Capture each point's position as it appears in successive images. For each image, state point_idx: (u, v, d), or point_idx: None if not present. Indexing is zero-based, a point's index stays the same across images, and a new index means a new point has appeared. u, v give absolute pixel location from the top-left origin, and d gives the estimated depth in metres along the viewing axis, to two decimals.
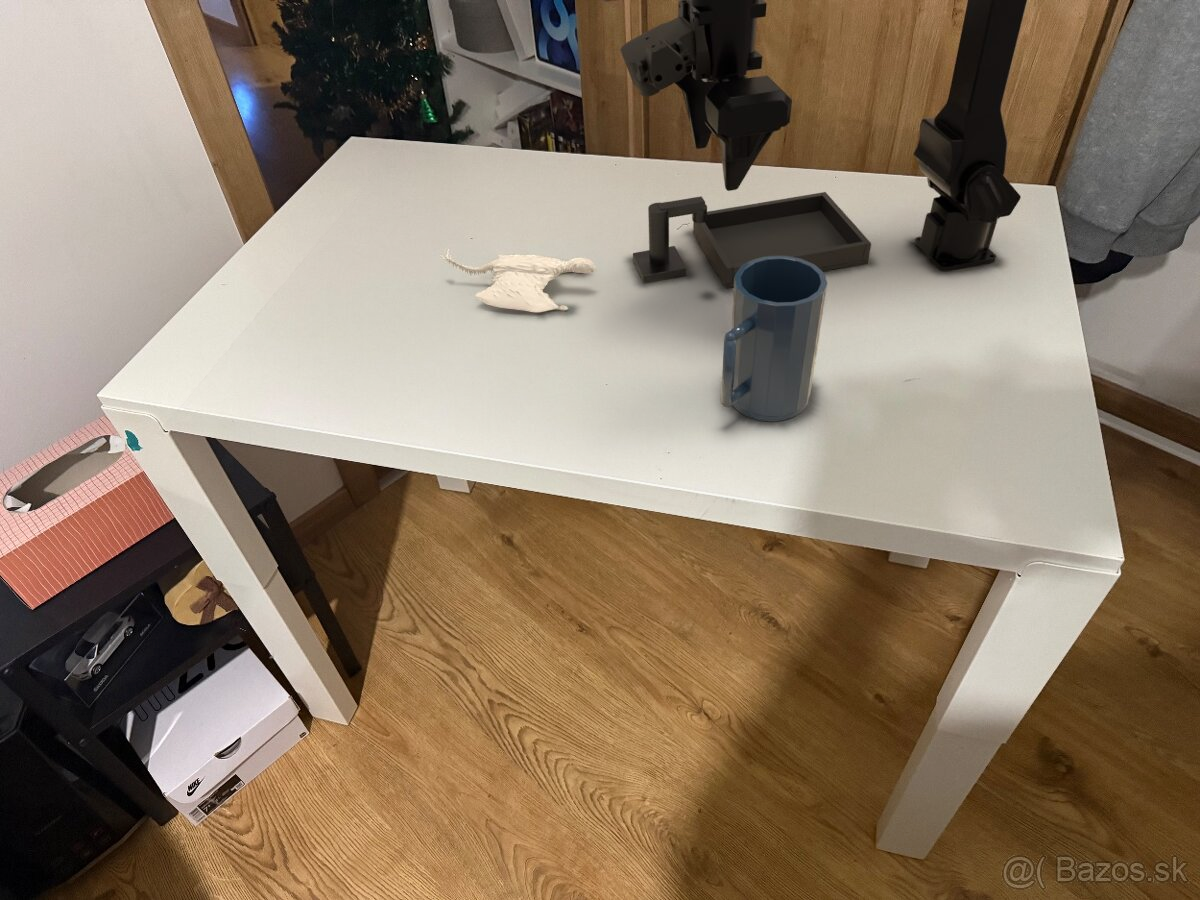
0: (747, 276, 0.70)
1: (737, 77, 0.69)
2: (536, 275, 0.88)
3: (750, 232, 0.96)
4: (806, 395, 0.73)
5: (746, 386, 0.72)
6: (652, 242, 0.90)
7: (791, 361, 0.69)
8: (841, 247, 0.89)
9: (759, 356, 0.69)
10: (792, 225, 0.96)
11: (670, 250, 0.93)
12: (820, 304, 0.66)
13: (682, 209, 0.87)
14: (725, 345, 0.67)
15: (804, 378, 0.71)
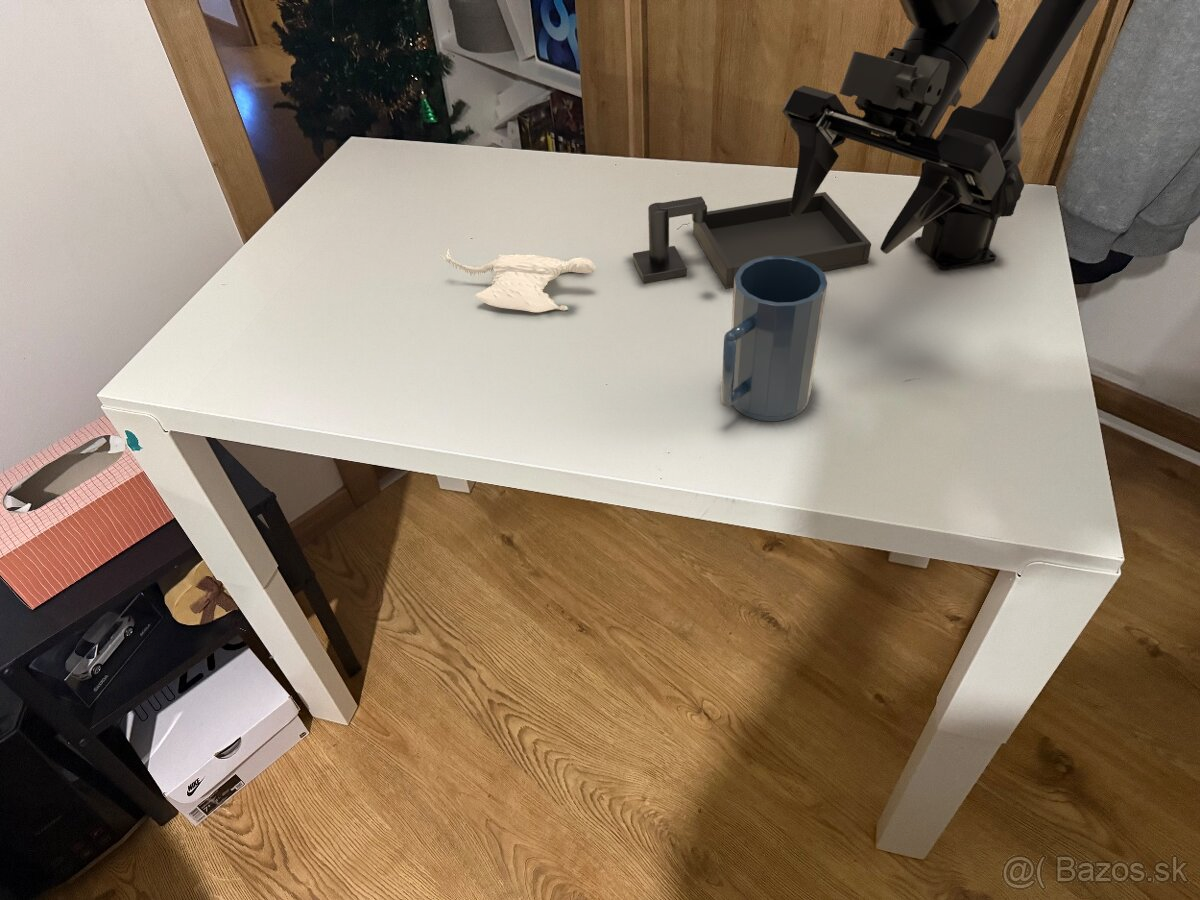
0: (747, 276, 0.70)
1: None
2: (536, 275, 0.88)
3: (750, 232, 0.96)
4: (806, 395, 0.73)
5: (746, 386, 0.72)
6: (652, 242, 0.90)
7: (791, 361, 0.69)
8: (841, 247, 0.89)
9: (759, 356, 0.69)
10: (792, 225, 0.96)
11: (670, 250, 0.93)
12: (820, 304, 0.66)
13: (682, 209, 0.87)
14: (725, 345, 0.67)
15: (804, 378, 0.71)
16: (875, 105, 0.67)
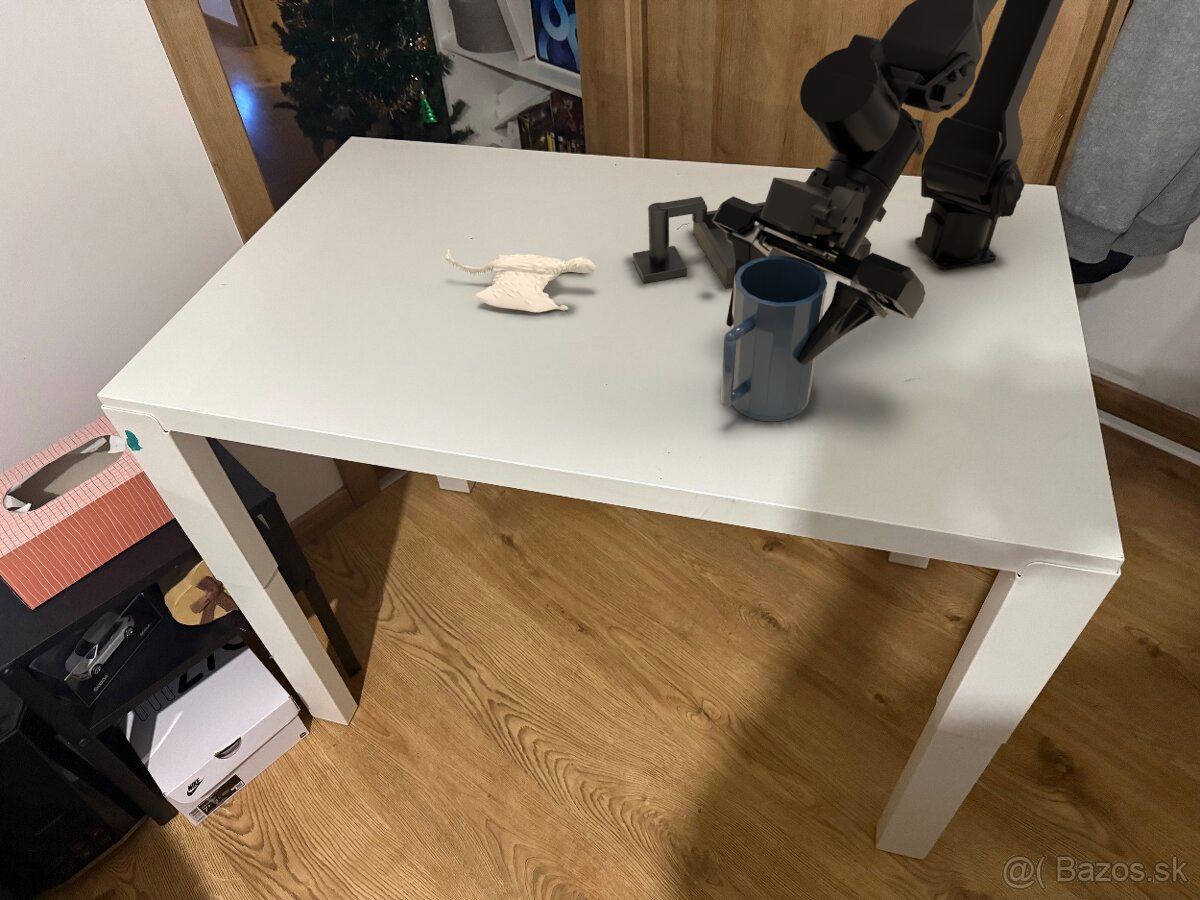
0: (747, 276, 0.70)
1: None
2: (536, 275, 0.88)
3: None
4: (806, 395, 0.73)
5: (746, 386, 0.72)
6: (652, 242, 0.90)
7: (791, 361, 0.69)
8: None
9: (759, 356, 0.69)
10: None
11: (670, 250, 0.93)
12: (820, 304, 0.66)
13: (682, 209, 0.87)
14: (725, 345, 0.67)
15: (804, 378, 0.71)
16: None
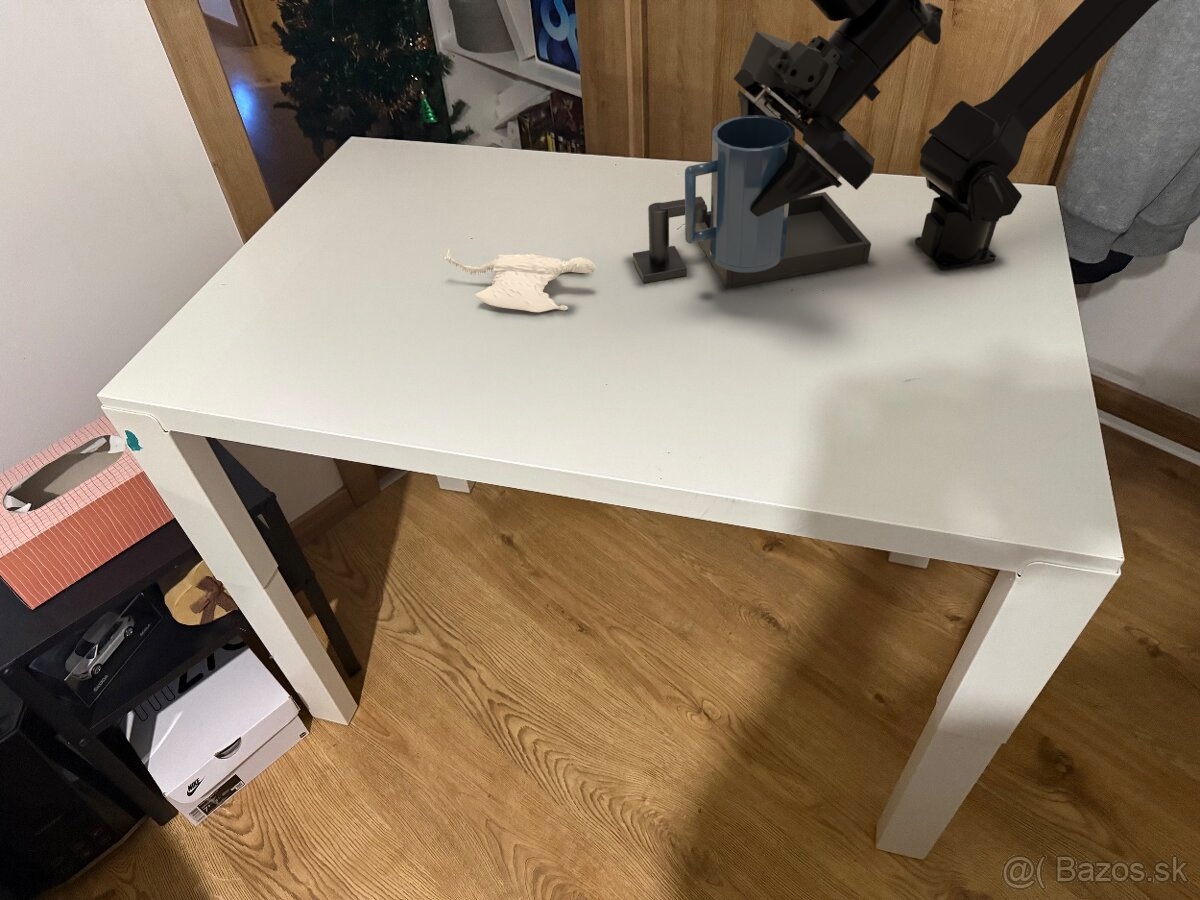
0: (737, 129, 0.77)
1: None
2: (536, 275, 0.88)
3: None
4: (768, 254, 0.80)
5: (713, 230, 0.80)
6: (652, 242, 0.90)
7: (746, 210, 0.76)
8: (841, 247, 0.89)
9: (720, 200, 0.77)
10: (792, 225, 0.96)
11: (670, 250, 0.93)
12: (776, 158, 0.73)
13: (682, 209, 0.87)
14: (685, 178, 0.76)
15: (762, 234, 0.78)
16: None
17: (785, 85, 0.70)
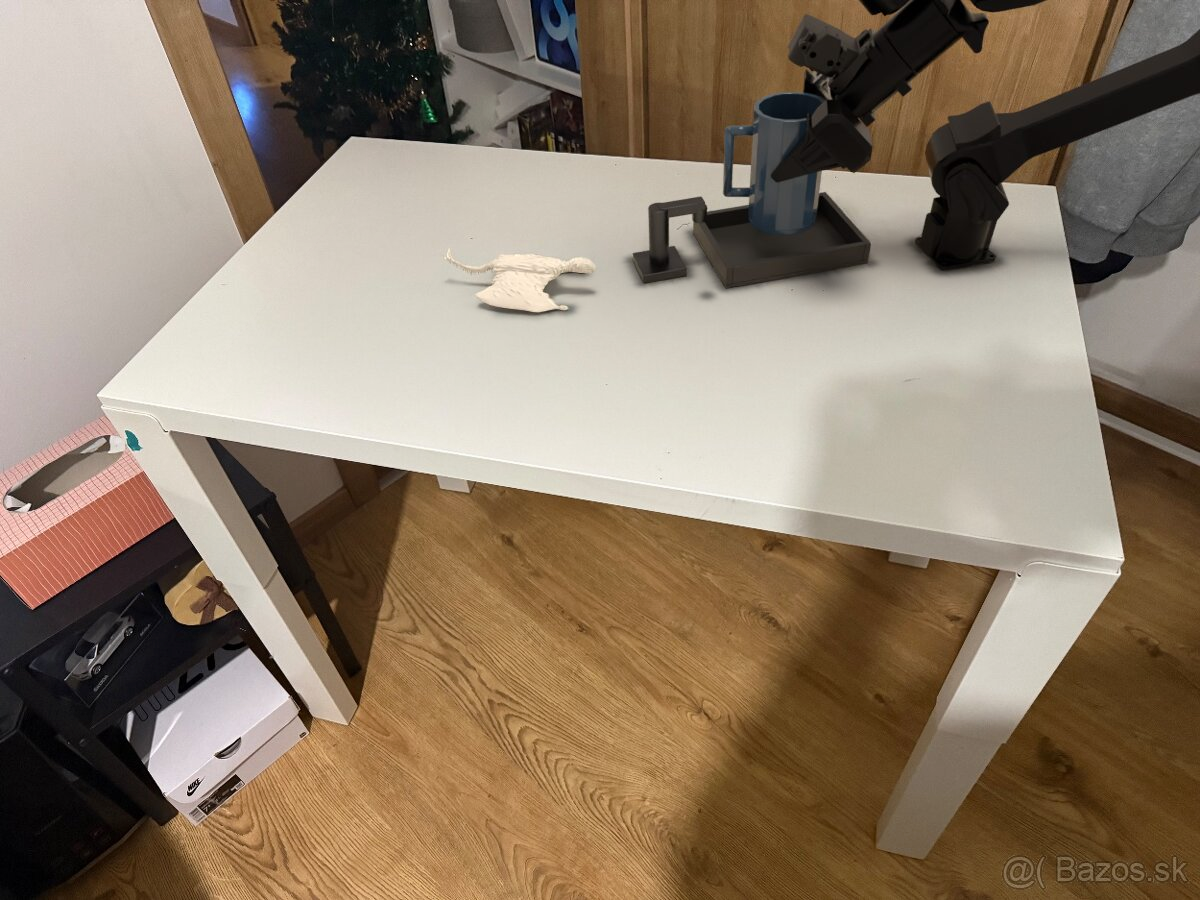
0: (788, 102, 0.86)
1: None
2: (536, 275, 0.88)
3: (750, 232, 0.96)
4: (788, 221, 0.88)
5: (748, 190, 0.90)
6: (652, 242, 0.90)
7: (768, 174, 0.85)
8: (841, 247, 0.89)
9: (752, 162, 0.86)
10: None
11: (670, 250, 0.93)
12: (797, 132, 0.81)
13: (682, 209, 0.87)
14: None
15: (782, 200, 0.86)
16: None
17: None
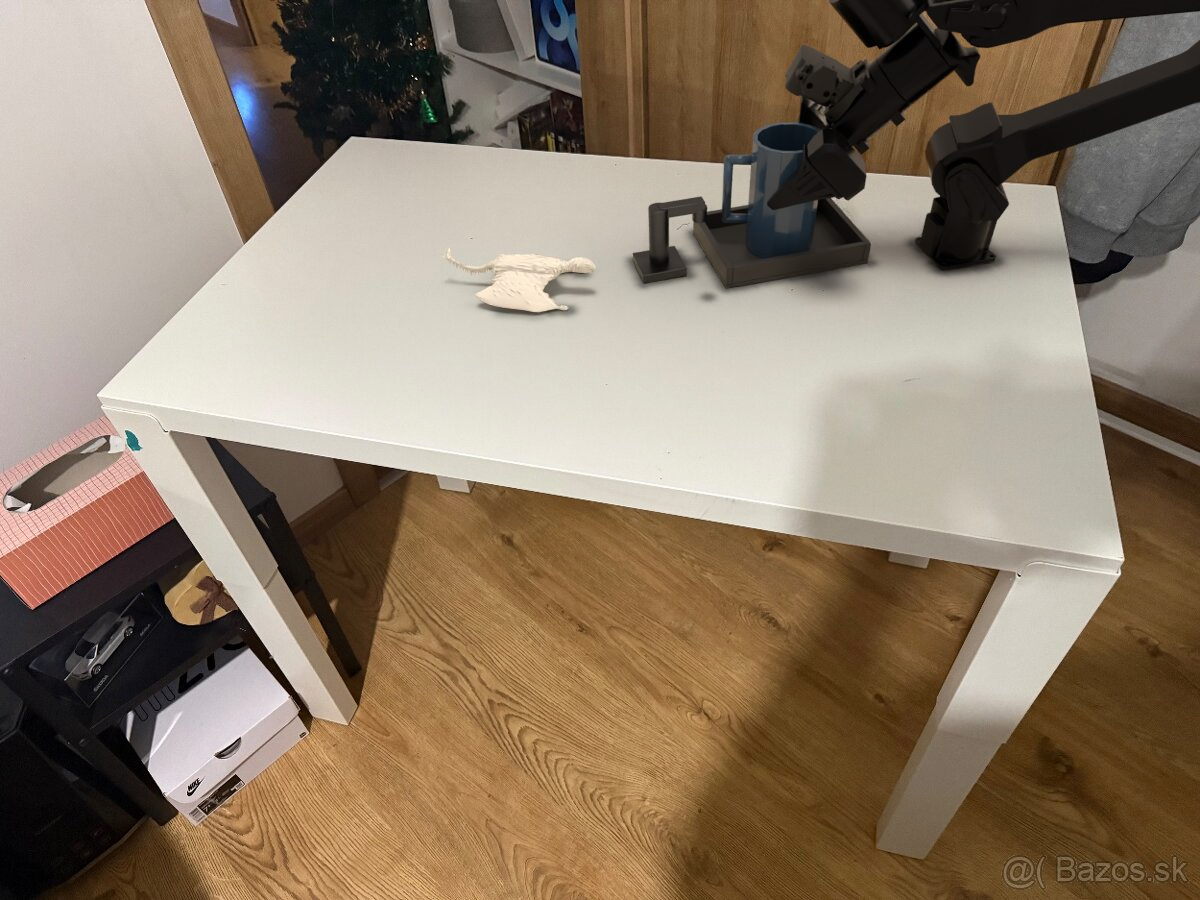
0: (786, 132, 0.88)
1: None
2: (536, 275, 0.88)
3: None
4: (784, 247, 0.90)
5: (746, 216, 0.92)
6: (652, 242, 0.90)
7: (766, 202, 0.87)
8: (841, 247, 0.89)
9: (751, 190, 0.89)
10: None
11: (670, 250, 0.93)
12: (794, 163, 0.83)
13: (682, 209, 0.87)
14: (724, 164, 0.88)
15: (780, 227, 0.88)
16: None
17: None
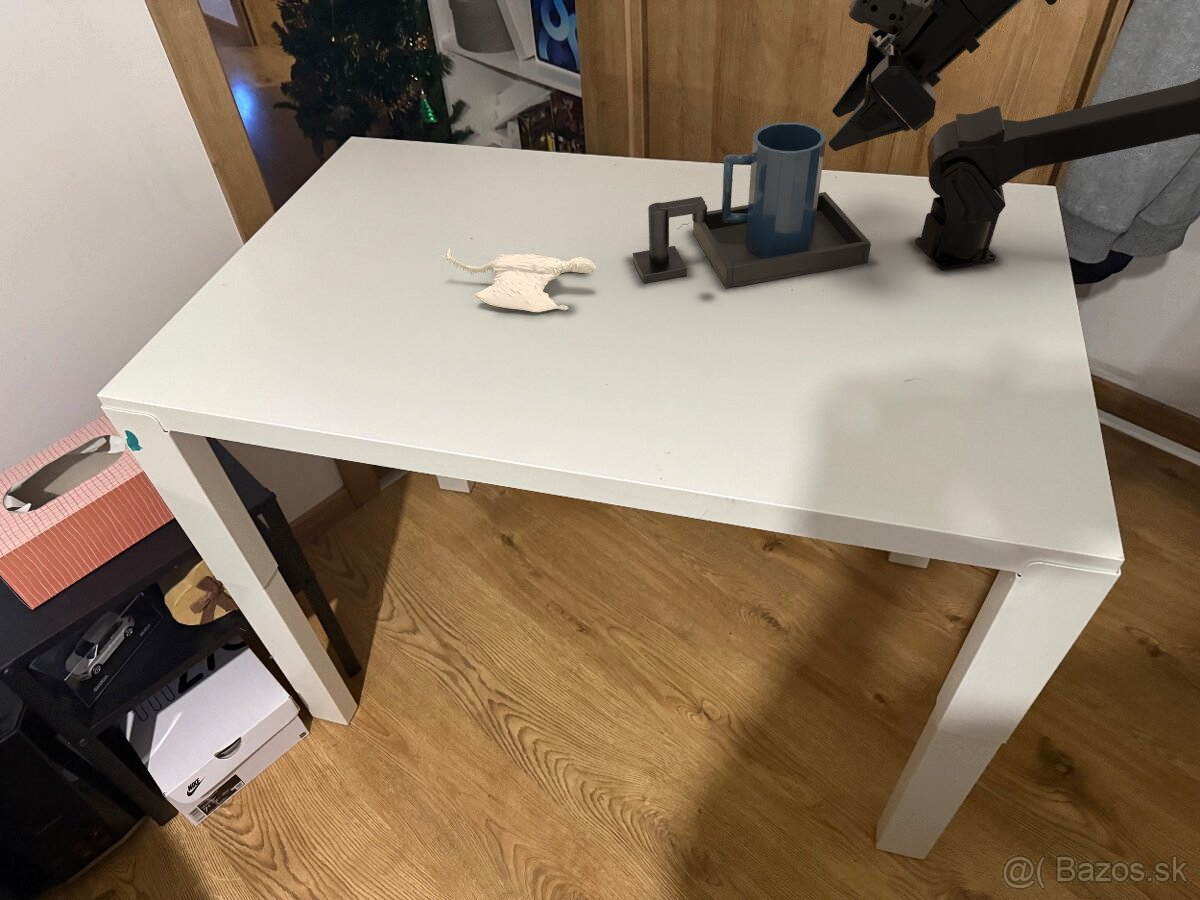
0: (786, 132, 0.88)
1: None
2: (536, 275, 0.88)
3: None
4: (784, 247, 0.90)
5: (746, 216, 0.92)
6: (652, 242, 0.90)
7: (766, 202, 0.87)
8: (841, 247, 0.89)
9: (751, 190, 0.89)
10: None
11: (670, 250, 0.93)
12: (794, 163, 0.83)
13: (682, 209, 0.87)
14: (724, 164, 0.88)
15: (780, 227, 0.88)
16: None
17: (875, 23, 0.75)
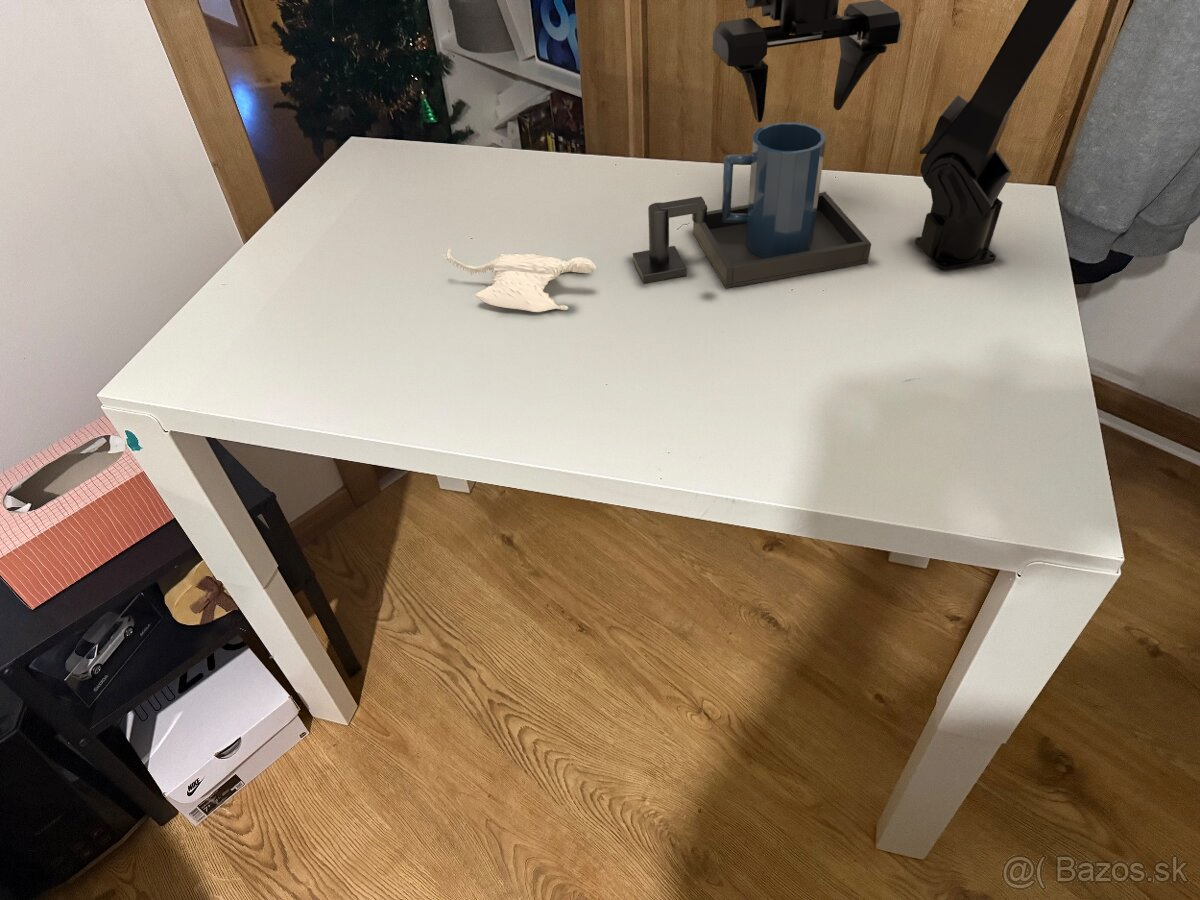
0: (786, 132, 0.88)
1: (776, 28, 0.84)
2: (536, 275, 0.88)
3: None
4: (784, 247, 0.90)
5: (746, 216, 0.92)
6: (652, 242, 0.90)
7: (766, 202, 0.87)
8: (841, 247, 0.89)
9: (751, 190, 0.89)
10: None
11: (670, 250, 0.93)
12: (794, 163, 0.83)
13: (682, 209, 0.87)
14: (724, 164, 0.88)
15: (780, 227, 0.88)
16: None
17: (767, 9, 0.88)
